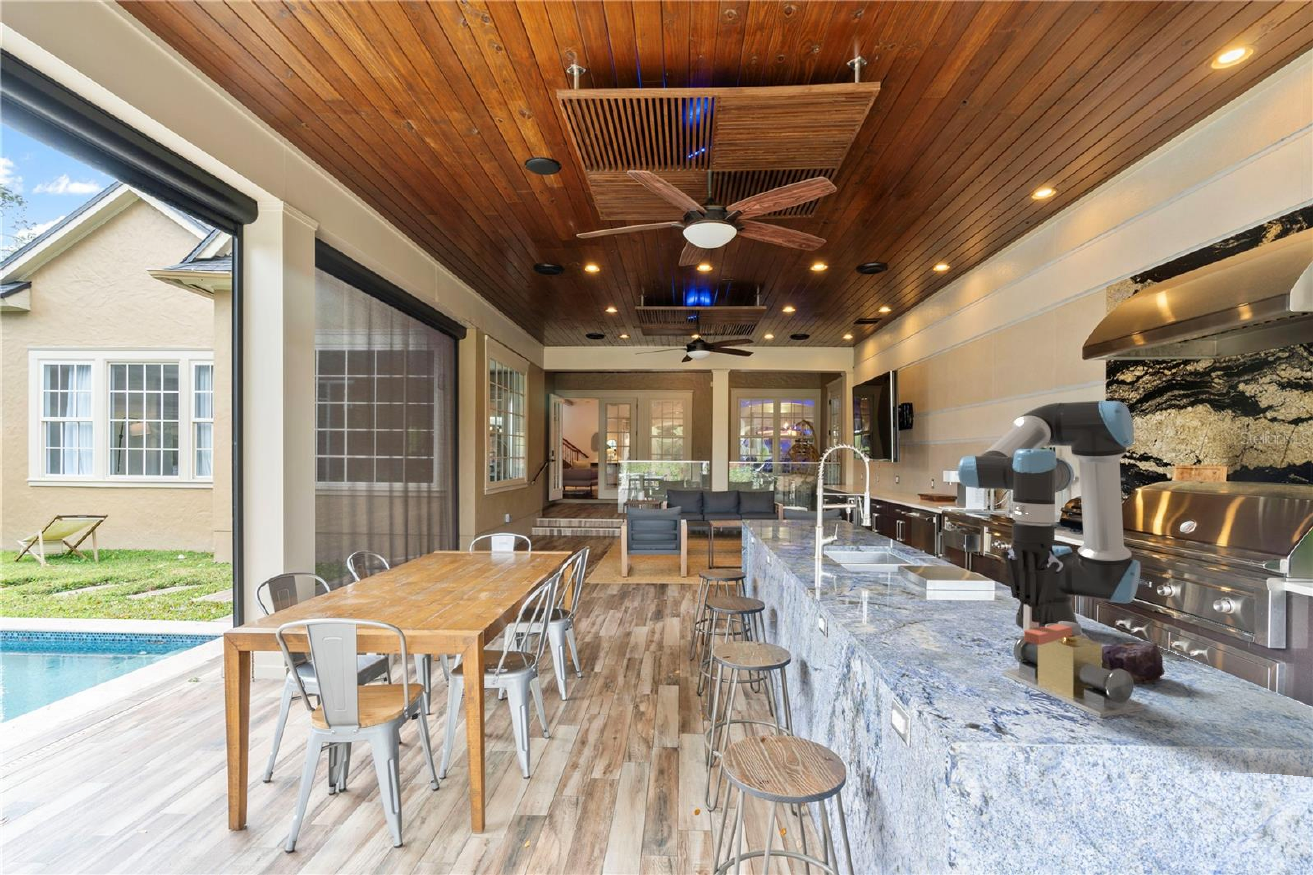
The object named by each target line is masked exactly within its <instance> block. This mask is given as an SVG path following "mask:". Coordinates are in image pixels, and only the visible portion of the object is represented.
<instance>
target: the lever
mask: <svg viewBox="0 0 1313 875" xmlns="http://www.w3.org/2000/svg"><path fill="white" fill-rule="evenodd" d="M1081 631H1082V626H1081V624H1079V623H1078V624H1077V623H1073V622H1067V621H1059V622H1058V624H1055V625H1051V626H1047V627H1038V628H1034V629H1030V630H1026V631H1024V641H1027V642H1030V643H1034V644H1037V645H1042V644H1046V643H1049V642H1053V641H1056V640H1058V639H1061V638H1065V637H1068V636H1072V635H1074V636H1077V635H1081Z"/></svg>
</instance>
